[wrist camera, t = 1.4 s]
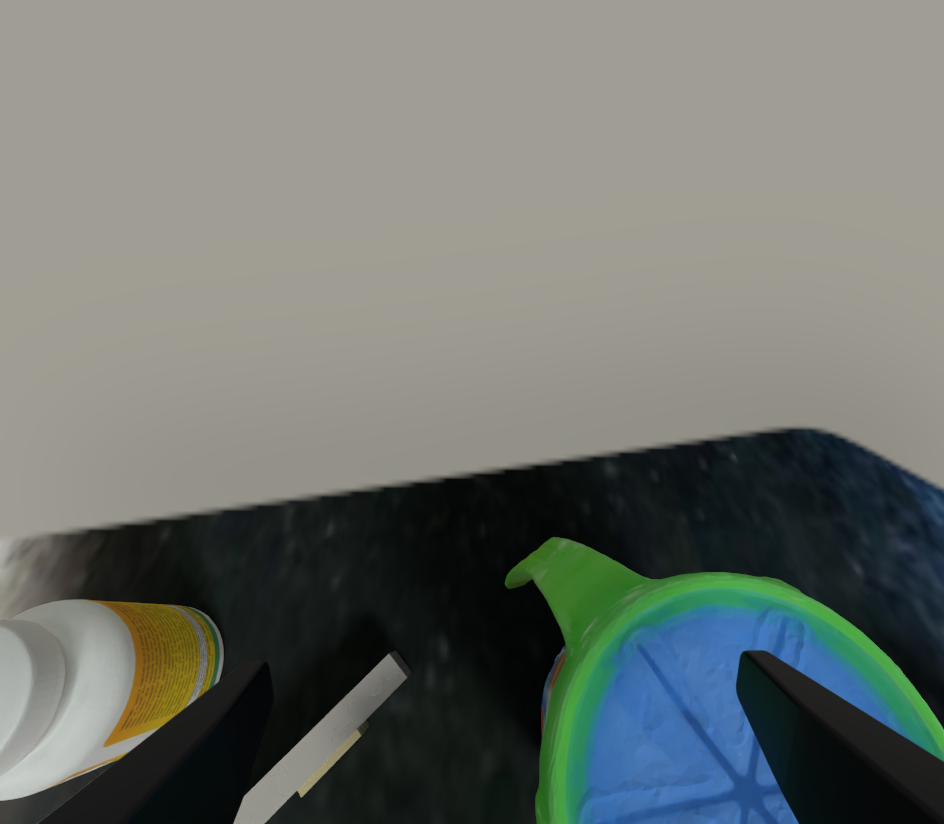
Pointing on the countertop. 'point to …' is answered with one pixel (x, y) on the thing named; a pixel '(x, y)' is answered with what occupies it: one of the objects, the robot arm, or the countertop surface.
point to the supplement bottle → (94, 684)
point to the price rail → (323, 743)
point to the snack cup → (684, 689)
